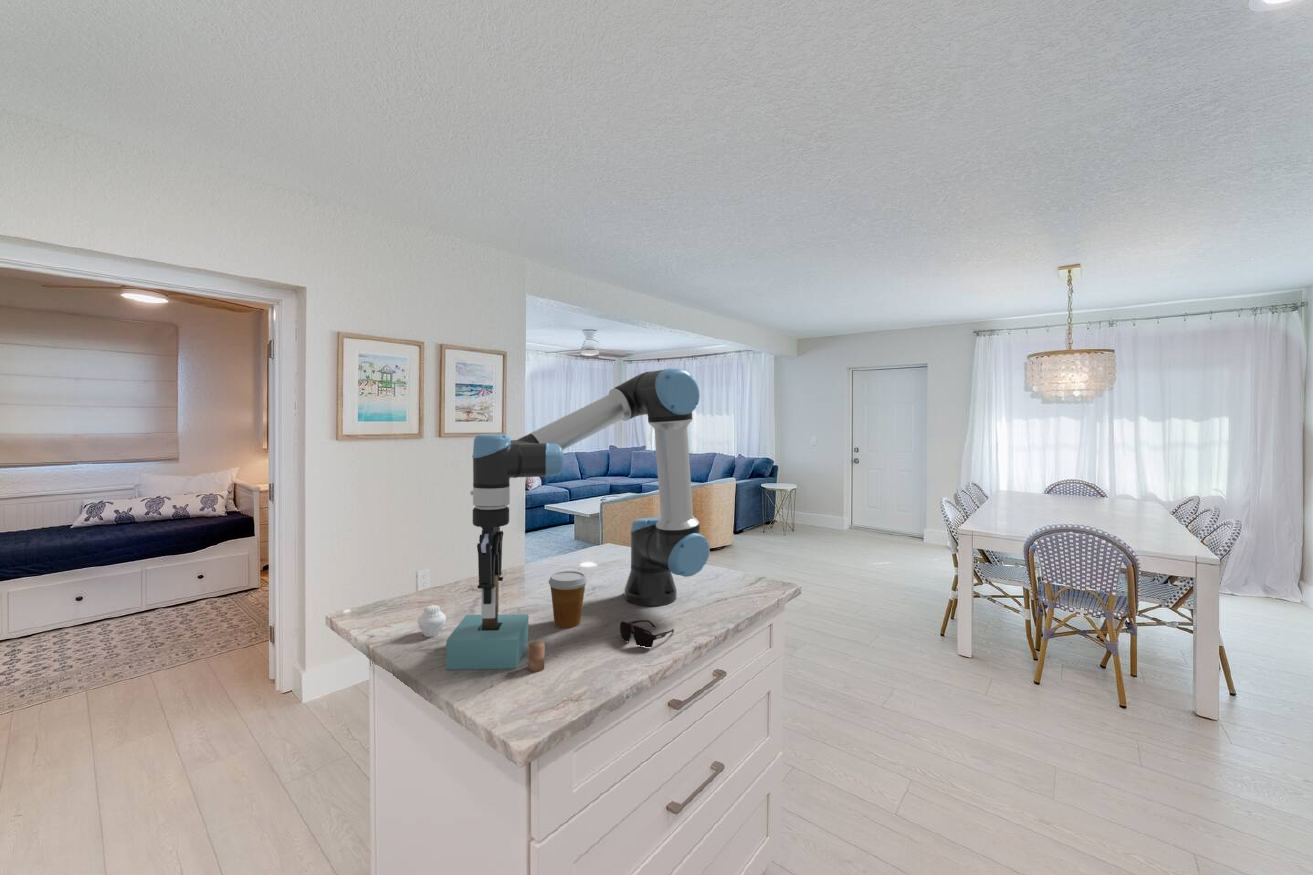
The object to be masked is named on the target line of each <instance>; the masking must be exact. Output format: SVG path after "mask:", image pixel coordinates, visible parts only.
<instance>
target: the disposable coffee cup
mask: <svg viewBox="0 0 1313 875" xmlns="http://www.w3.org/2000/svg"><path fill="white" fill-rule="evenodd" d="M587 582H588V579H587V577H586V574H585V573H584V572H581V571H578V570H577V571H576V570H564V571H558V572H554V573H552V574H551V575H550V577H549V579H548V584H549V586H550V592H551V602H552V604H551V605H552V611H553V619H554V620H553V621H554V625H555V626H556V627H558V628H563V629H567V628H575V627H577V626H579V625H580V623H581V617H582V611H583V603H584V595H585V588H586V585H587Z"/></svg>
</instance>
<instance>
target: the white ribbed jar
mask: <svg viewBox="0 0 1313 875" xmlns="http://www.w3.org/2000/svg"><path fill="white" fill-rule="evenodd" d="M446 619H447V616H446V614H445V613H443V612H442V610H441V607H440V606H439V605H437V604H431V605H428V606H426V607H424V609H423V612H422V614H421V615H420V616H419V617H418V618H417V625H418V627H419V629H420V631H421V632H422V634H423V636H424V637H426V638H427V637H428V638H433V637H436V636H438V635H439V634H440V632H442V629H443V627H444V626H445V622H446V621H447V620H446Z"/></svg>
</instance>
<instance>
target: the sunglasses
mask: <svg viewBox="0 0 1313 875" xmlns="http://www.w3.org/2000/svg"><path fill="white" fill-rule="evenodd" d="M644 622H645V623H649V624H650V625H651V627H655V628H656V626H655V625H654V624H653V623H652V622H651V620H645V619H644V620H643V619H640V620H634V621H623V620H622V621H620V623H619V631H620V637H621V639H622V640H623V639H624V640H623V641H624V642H626V641H628V643H630V641H631V637H632V635H633V639H634V642H635V644H636V646H637V645H640V646H645V647H651V648H653V645H654V641H657V640H658V639H659V640H660V639H662V638H665V637H666V635H668V634H670V633H671V634H672V633H673V634H674V628H672V629H670V630H668V631H664V632H660V633H657V634H653V633H652V631H651V630H648V629H646V628H644V627H642V626H639V625H636V624H637V623H644Z"/></svg>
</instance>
